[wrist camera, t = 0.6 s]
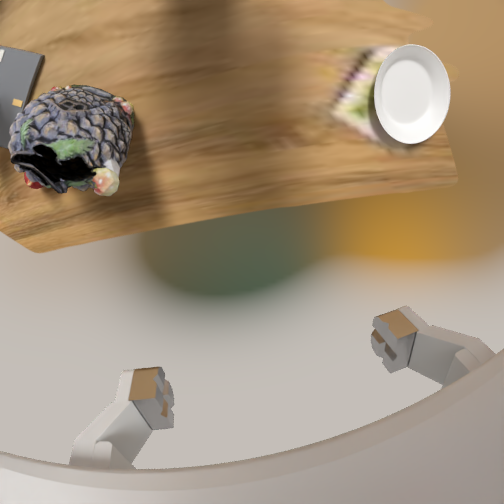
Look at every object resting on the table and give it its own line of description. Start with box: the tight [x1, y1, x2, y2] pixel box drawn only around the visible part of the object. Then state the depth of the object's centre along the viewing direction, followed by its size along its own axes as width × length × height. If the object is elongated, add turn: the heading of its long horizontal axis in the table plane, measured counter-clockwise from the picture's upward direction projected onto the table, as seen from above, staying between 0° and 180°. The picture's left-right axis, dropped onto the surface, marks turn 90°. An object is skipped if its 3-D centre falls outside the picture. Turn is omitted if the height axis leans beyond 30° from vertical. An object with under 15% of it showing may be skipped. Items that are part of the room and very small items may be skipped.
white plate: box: [374, 45, 450, 144], centre depth 53 cm, size 25×25×4 cm
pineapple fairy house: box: [8, 85, 134, 196], centre depth 35 cm, size 21×15×25 cm
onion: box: [24, 172, 44, 189], centre depth 44 cm, size 6×6×8 cm
